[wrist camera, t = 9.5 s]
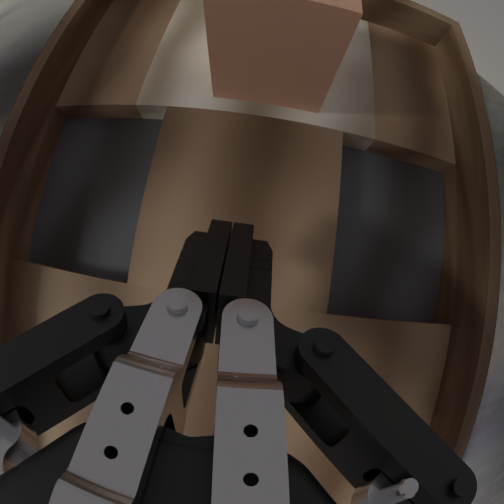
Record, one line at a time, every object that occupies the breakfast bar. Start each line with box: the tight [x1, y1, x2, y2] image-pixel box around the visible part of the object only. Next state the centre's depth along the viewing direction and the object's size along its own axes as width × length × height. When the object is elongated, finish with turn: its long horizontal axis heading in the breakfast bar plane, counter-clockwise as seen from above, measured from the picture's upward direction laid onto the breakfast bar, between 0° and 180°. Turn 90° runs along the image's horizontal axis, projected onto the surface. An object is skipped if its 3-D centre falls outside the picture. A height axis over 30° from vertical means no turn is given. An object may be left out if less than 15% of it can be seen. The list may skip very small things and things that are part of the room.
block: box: [203, 0, 363, 113], centre depth 13 cm, size 6×6×8 cm
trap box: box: [0, 0, 501, 504], centre depth 15 cm, size 28×36×5 cm
